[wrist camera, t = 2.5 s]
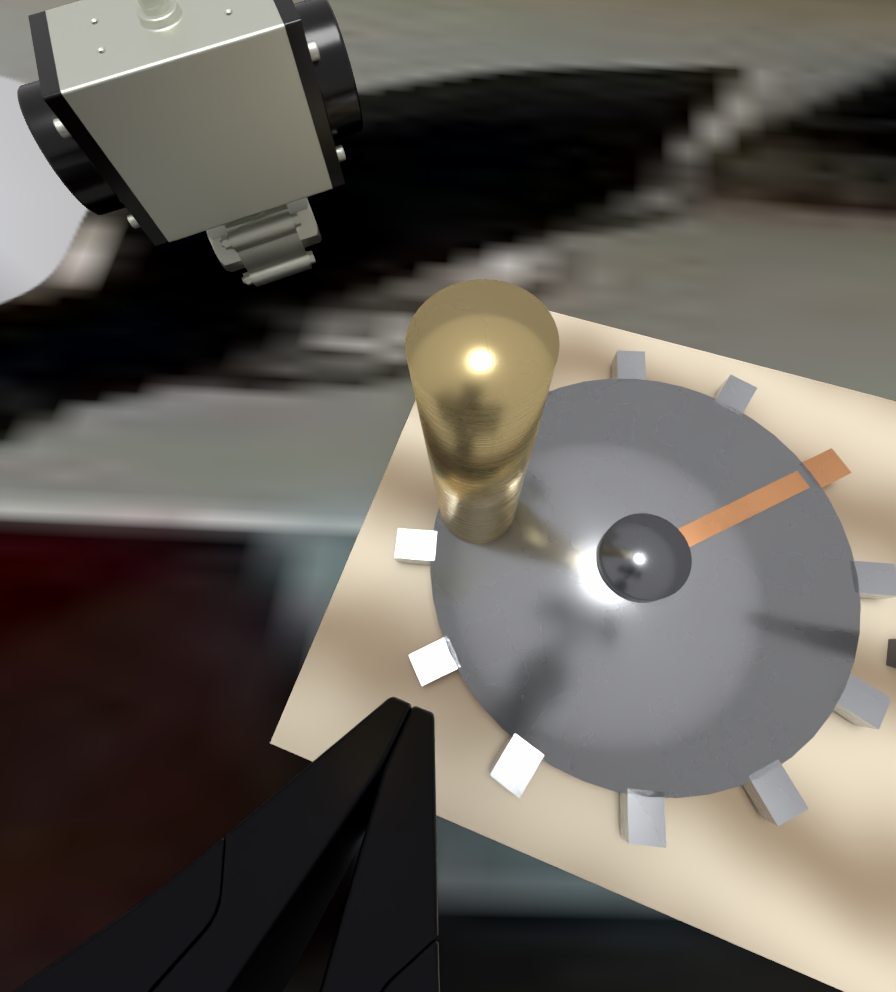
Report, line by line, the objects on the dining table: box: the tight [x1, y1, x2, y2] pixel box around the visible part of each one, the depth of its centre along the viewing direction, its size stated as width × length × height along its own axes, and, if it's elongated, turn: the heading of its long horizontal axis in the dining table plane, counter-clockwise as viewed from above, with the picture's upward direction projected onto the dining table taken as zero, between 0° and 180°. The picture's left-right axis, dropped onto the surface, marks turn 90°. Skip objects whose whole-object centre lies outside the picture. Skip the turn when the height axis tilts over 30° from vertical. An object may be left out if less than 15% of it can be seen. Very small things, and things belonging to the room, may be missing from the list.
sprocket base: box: [270, 311, 896, 992], centre depth 20 cm, size 22×22×3 cm
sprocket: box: [394, 279, 896, 848], centre depth 14 cm, size 18×18×12 cm
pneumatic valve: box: [18, 0, 363, 287], centre depth 22 cm, size 6×12×12 cm, turn 111°
